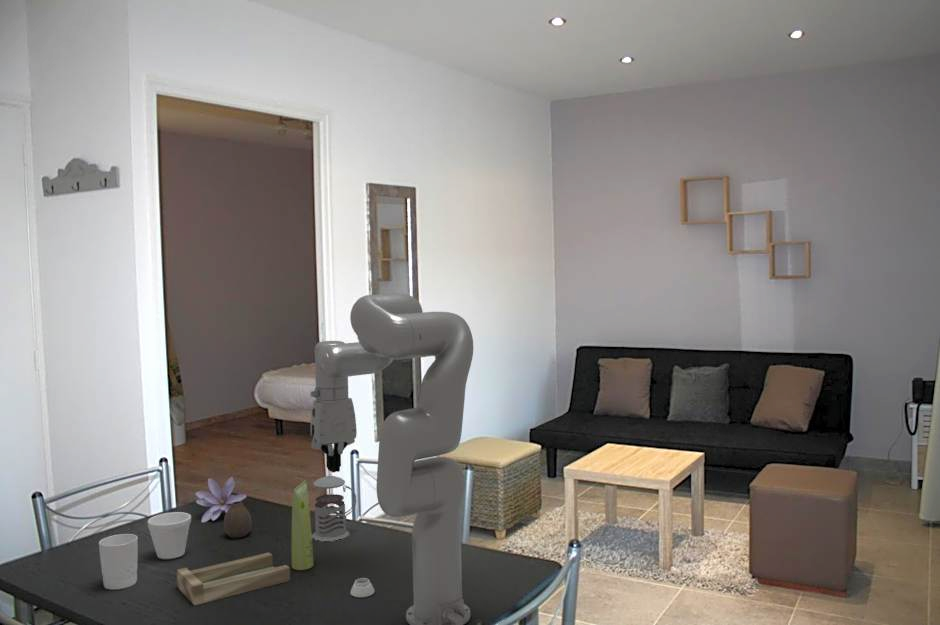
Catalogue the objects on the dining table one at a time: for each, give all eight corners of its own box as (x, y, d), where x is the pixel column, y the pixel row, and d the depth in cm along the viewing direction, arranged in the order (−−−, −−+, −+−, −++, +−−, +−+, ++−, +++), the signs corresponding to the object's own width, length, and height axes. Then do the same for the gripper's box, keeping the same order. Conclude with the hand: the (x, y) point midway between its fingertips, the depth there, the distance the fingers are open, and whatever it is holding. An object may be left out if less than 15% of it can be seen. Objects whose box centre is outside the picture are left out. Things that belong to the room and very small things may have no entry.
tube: (318, 568, 189) (315, 484, 187) (297, 573, 186) (294, 488, 185) (308, 561, 193) (305, 479, 192) (287, 566, 191) (285, 483, 189)
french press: (308, 531, 214) (305, 437, 213) (352, 526, 219) (349, 433, 217) (315, 543, 205) (311, 444, 204) (360, 537, 209) (358, 440, 208)
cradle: (290, 580, 182) (289, 563, 181) (194, 605, 169) (193, 586, 169) (269, 565, 191) (268, 548, 191) (177, 587, 179) (176, 569, 179)
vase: (222, 534, 214) (220, 501, 214) (249, 529, 217) (248, 497, 217) (226, 542, 208) (225, 508, 207) (254, 537, 211) (252, 504, 210)
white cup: (128, 574, 187) (126, 531, 187) (146, 582, 182) (144, 538, 182) (94, 585, 181) (92, 541, 181) (112, 594, 176) (109, 548, 176)
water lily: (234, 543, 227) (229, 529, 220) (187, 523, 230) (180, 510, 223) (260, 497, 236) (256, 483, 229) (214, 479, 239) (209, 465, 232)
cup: (140, 561, 195) (138, 523, 195) (165, 547, 205) (163, 510, 204) (177, 564, 193) (175, 526, 192) (201, 549, 203) (199, 512, 202)
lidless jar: (359, 601, 170) (379, 594, 174) (359, 587, 170) (378, 580, 174) (345, 594, 174) (365, 587, 178) (345, 580, 174) (364, 574, 177)
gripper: (309, 399, 185) (311, 479, 187) (368, 392, 194) (369, 469, 195) (295, 395, 191) (297, 472, 193) (353, 388, 200) (354, 462, 201)
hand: (333, 470), depth 194 cm, fingers closed
